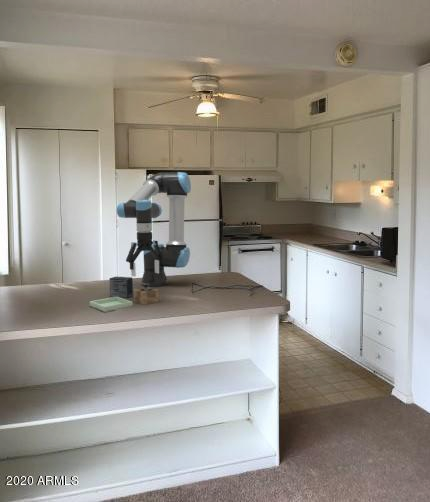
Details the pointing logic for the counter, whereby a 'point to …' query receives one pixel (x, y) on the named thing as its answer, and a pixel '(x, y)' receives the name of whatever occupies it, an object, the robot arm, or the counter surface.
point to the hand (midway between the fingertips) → (145, 274)
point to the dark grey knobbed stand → (146, 286)
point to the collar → (146, 296)
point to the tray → (110, 304)
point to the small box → (121, 287)
